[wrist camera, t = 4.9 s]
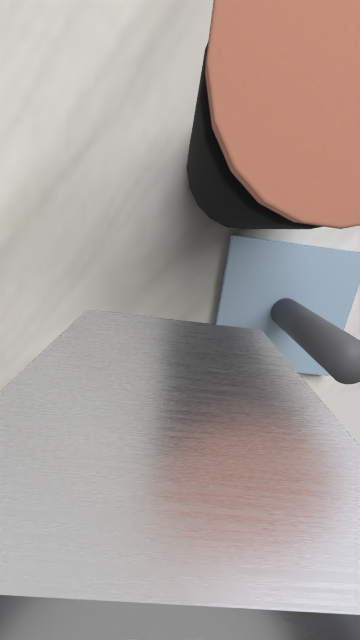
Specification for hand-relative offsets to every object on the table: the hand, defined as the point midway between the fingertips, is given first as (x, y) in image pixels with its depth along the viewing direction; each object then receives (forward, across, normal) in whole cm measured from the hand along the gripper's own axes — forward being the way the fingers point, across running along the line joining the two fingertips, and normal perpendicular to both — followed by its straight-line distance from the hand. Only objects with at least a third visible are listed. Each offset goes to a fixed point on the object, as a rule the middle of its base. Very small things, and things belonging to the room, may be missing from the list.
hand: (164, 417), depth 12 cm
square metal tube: (+2, 0, 0) cm, 2 cm away
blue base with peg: (+19, +12, +1) cm, 22 cm away
